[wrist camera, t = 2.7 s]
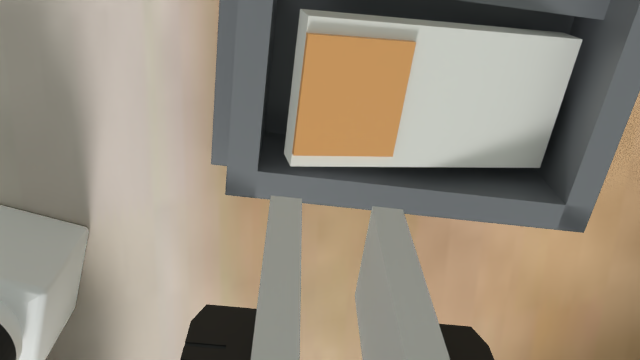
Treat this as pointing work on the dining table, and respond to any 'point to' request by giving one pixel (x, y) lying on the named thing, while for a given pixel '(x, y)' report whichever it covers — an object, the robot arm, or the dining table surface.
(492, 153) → the rocker
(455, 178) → the box
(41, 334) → the medicine bottle
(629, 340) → the dining table surface
